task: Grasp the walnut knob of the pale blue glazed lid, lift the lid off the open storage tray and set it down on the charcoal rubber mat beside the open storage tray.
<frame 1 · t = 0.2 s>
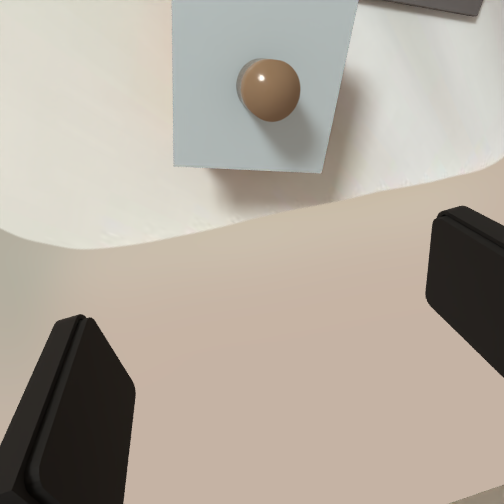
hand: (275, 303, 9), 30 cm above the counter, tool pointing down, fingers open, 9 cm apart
lid: (258, 85, 28), point 6 cm above the counter, touching open storage tray
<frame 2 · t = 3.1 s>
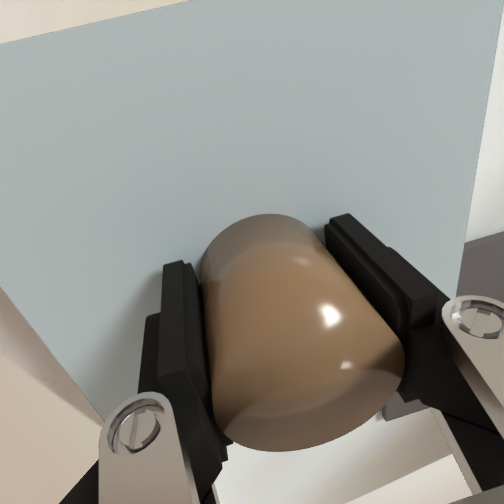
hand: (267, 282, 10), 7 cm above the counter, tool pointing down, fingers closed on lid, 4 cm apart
mat: (494, 318, 25), on the counter
lid: (257, 259, 11), point 6 cm above the counter, touching open storage tray, gripper
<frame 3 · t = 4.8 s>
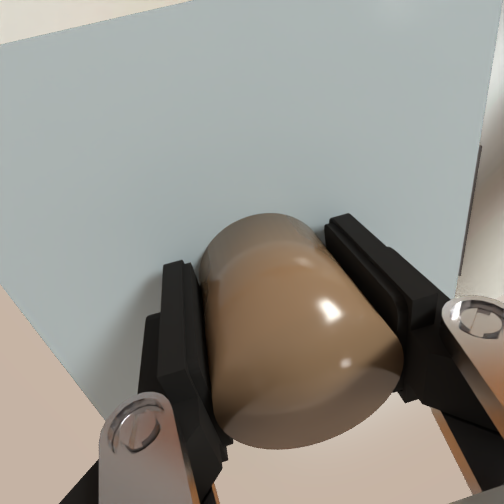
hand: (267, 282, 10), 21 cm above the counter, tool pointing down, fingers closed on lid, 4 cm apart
mat: (391, 238, 37), on the counter
lid: (257, 258, 11), point 19 cm above the counter, touching gripper
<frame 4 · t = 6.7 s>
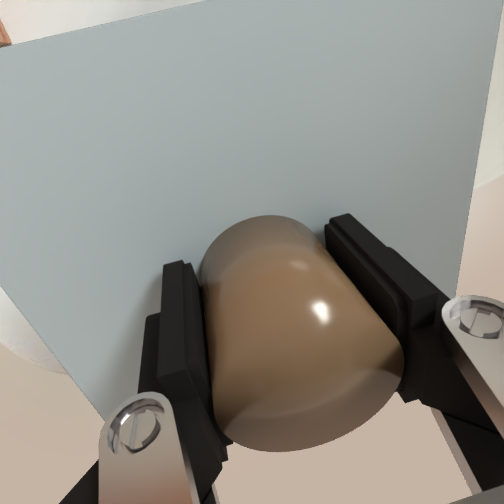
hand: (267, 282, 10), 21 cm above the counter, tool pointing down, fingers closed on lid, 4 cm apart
lid: (258, 260, 11), point 20 cm above the counter, touching gripper
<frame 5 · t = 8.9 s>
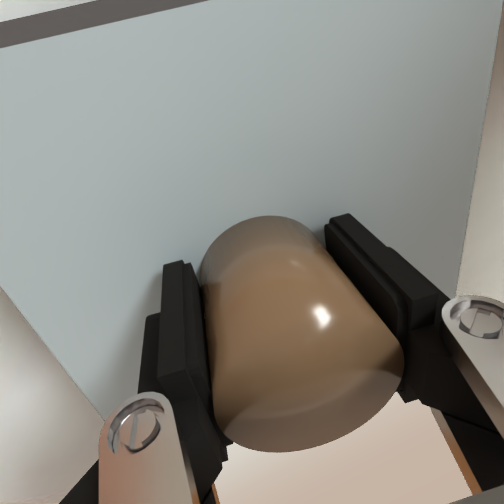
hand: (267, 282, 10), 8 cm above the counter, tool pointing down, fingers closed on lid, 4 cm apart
mat: (235, 188, 16), on the counter
lid: (258, 260, 11), point 6 cm above the counter, touching gripper
when the fingers open (4 cm above the counter, at t = 10.4 s): lid drops 2 cm, resting on mat.
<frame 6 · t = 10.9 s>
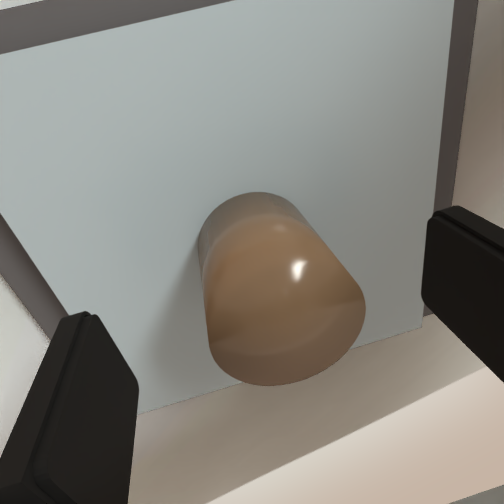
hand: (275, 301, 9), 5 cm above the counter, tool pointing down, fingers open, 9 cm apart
mat: (242, 221, 14), on the counter
lid: (249, 235, 13), point 1 cm above the counter, touching mat
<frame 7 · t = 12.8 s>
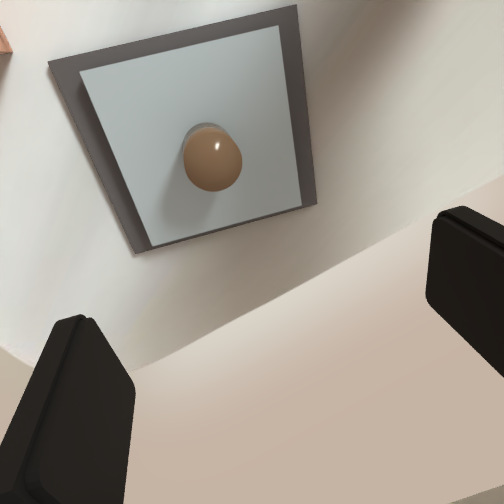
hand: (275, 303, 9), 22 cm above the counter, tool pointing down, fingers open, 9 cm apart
mat: (205, 143, 28), on the counter
lid: (207, 146, 27), point 1 cm above the counter, touching mat
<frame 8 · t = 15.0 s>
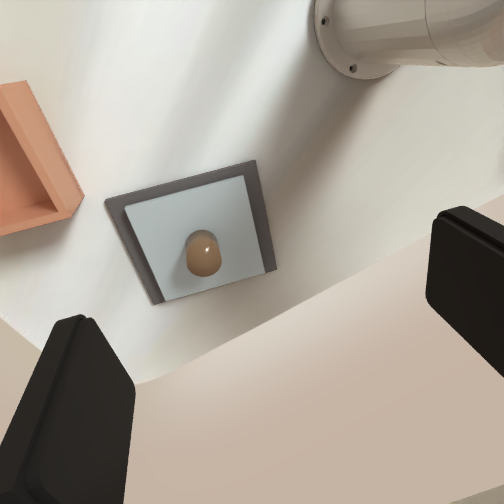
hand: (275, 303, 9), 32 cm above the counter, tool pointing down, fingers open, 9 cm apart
mat: (200, 236, 44), on the counter
open storage tray: (0, 157, 35), on the counter
lid: (201, 241, 43), point 1 cm above the counter, touching mat
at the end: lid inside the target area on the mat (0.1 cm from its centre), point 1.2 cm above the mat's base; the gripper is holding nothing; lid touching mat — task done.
